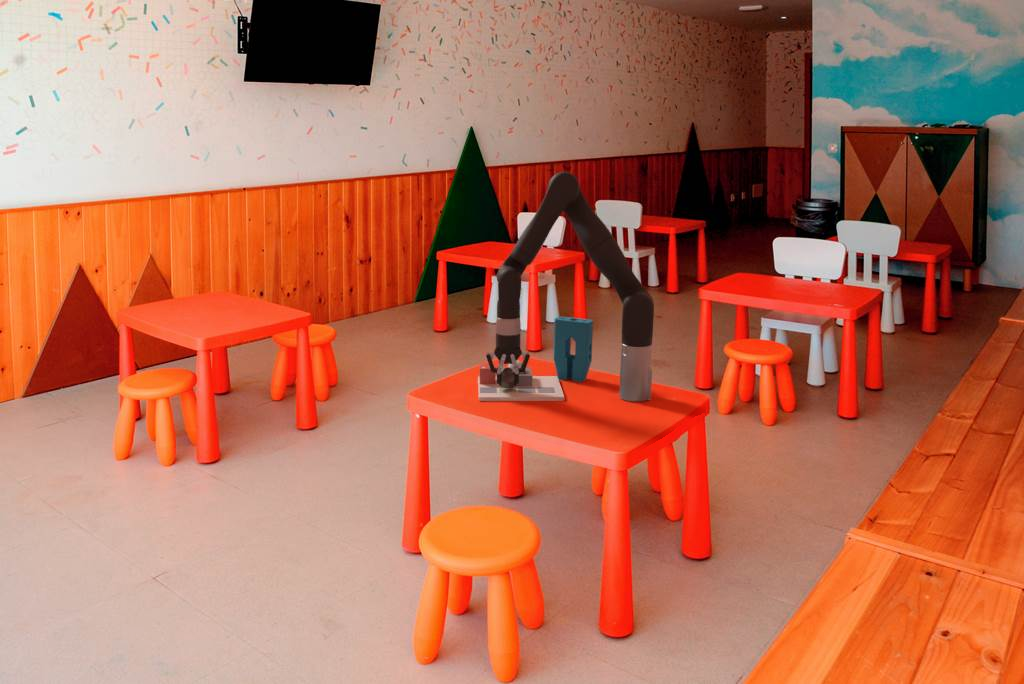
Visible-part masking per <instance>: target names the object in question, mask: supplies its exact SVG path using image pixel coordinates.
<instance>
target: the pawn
mask: <svg viewBox="0 0 1024 684" xmlns="http://www.w3.org/2000/svg"><path fill="white" fill-rule="evenodd" d="M506 367H507V368H505V369H504V370H503V371H502V372H501V387H502V388H513V387H515V386H514V374H515V372H514V371H513V370H512V369H511V368H509V367H508V366H506Z"/></svg>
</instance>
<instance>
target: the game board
mask: <svg viewBox="0 0 1024 684" xmlns="http://www.w3.org/2000/svg"><path fill="white" fill-rule="evenodd" d="M477 387H478V389H477V390H478V391H477V392H478V401H479V402H532V401H533V402H546V401H547V402H549V401H550V402H560V401H561V402H562V401H565V395H564V392H563V390H562V386H561V384H560V379H558V376H557V375H554V376H553V375H543V376H542V375H540V376H539V375H538V376H537V375H532V386H515V387H513V388H502V387H501V386H499V384H497V375H496V384H480V375H479V376H477Z"/></svg>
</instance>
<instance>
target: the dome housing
mask: <svg viewBox="0 0 1024 684" xmlns="http://www.w3.org/2000/svg"><path fill="white" fill-rule="evenodd" d="M507 367H508V366H503V368H502V370H501V372H502V371H503V370H504V369H505V368H507ZM532 376H533V372H532V367H531V366H526V369H525V371H524V374H519V383H518V384H517V386H532Z"/></svg>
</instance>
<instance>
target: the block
mask: <svg viewBox="0 0 1024 684" xmlns="http://www.w3.org/2000/svg"><path fill="white" fill-rule="evenodd" d="M553 325H554V328H553V329H554V331H553V332H554V333H553V335H554V336H553V363H554V367H555V370H556V371H555V372H556V376H557V377H558V380H559V381H567V380H568V379H571V380H572V382H574V383H575V382H577V383H583V382H584V381H586V379H587V377H588V374H589V371H590V367H591V363H592V362H593V361H592V360H593V359H592V357H593V355H592V354H593V336H594V335H593V329H594V320H593V319H588V318H577V317H570V316H569V317H568V316H557V317H556V318H554V324H553ZM572 340H573V341H574V343H575V344H574V345H575V346H574V347H575V350H574V352H575V354H572V353H571V347H572V345H571V343H572V342H571V341H572Z"/></svg>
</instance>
